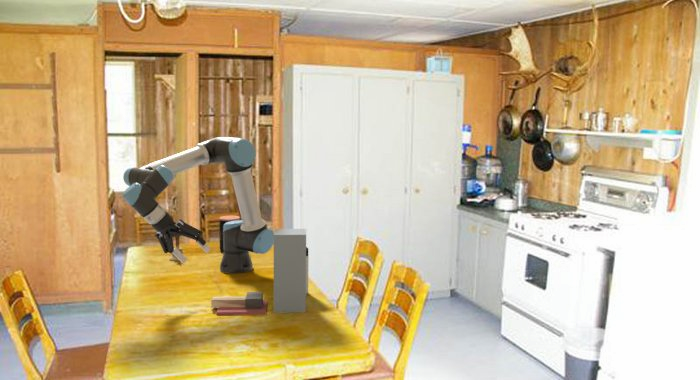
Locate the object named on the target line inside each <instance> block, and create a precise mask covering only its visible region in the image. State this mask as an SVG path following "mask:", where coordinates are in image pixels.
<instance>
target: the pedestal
mask: <svg viewBox="0 0 700 380" xmlns="http://www.w3.org/2000/svg"><path fill="white" fill-rule="evenodd" d="M273 233H274V244H273V313H279V314H280V313H306V311H307V306H306V305H307V304H306V300H307V298H306V297H307V295H306V247H307V229H306V228H274V231H273Z"/></svg>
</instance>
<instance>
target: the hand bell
mask: <svg viewBox="0 0 700 380" xmlns="http://www.w3.org/2000/svg"><path fill="white" fill-rule="evenodd" d="M179 231H180V230H179ZM180 237H181V236H178V235H177V236H175V237H174V238H175V246H174V249H175V248H177V249H178V250H179V251H180V252H181V253H182V254H183V255H184V256H185V257H186V255H185V254H184V253H183V252H184V251H183V247H181V246H180ZM186 258H187V257H186ZM168 259H169V261H174V262H176V261H177V262H179V261H180V260H178V259H177V258H176V257H174V256H173V255H172V254H171V255H170V257H169V258H168ZM180 262H181V261H180Z"/></svg>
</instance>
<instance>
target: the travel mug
mask: <svg viewBox="0 0 700 380" xmlns="http://www.w3.org/2000/svg"><path fill="white" fill-rule="evenodd" d="M308 295H309V247H308V246H306V296H308Z"/></svg>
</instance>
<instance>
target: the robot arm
mask: <svg viewBox="0 0 700 380" xmlns="http://www.w3.org/2000/svg"><path fill="white" fill-rule="evenodd" d="M256 155H257V153H256V148H255V146H254V144H253V142H251V141H250V140H248V139H246V138H242V137H233V136H231V137H230V136H218V137H214V138H210V139H208V140H205V141H202V142H200V143H197V144H195V145H194V147H193V148H190V149H187V150H184V151H182V152H179V153H176V154H173V155H171V156H167V157H166V158H163V159H159V160H156V161H154V162H151V163H149V164H146V165H141V166H139V167H129V168H127V169H126V170H125V171H124V173H123V181H124V183H125V185H127V186H128V187H127V188H126V189H125V190H124V191H123V193H122V198H123V199H124V201H125V202H126V203H127V204H128V205H129V206H130V207H131V208H133V210H135V212H137V213H138V215H140V216H141V217H142V218H143V219H144V220H145V221H146V222H147V223H148V224H149V225H151V227H152V228H153V229H154V230H155V231H156V233H155V234H154V236H155V237H156V239H158V242H159V244H160V247H161V249H162V251H163V252H164V254H167V253H169V254H171V255H173V256H174V257H176V258H177V259H178V260H180V263H182V264H183V265H184V264H186V261H187V260H188V257H185V256H186V255H185V254H184V253H183V254H184V255H183V254H182V253H181V252H180V251H179V250H178V249H177V248H175V246H174V239H173V238H175V236H177V235H178V236H180V237H181V236H182V237H184V238H185V237H186V238H188V239H191V240H194V241H195V243H196V244H197V246H199V247H200V248H201V250H203V251H204V252H205V254H209V253H210V250H211V246H210V245H208V244H207V241H206V240H205V239H204V238H203V237H202V235H203V234H204V233H203V231H202V230H200V229H198V228H197V227H194V226H193V225H190V224H188V223H186V222H185V221H184V220H182V219H178V221H177V222H176V221H174V217H173V216H171V215H170V213H168V212H167V211H166V209H165V208H164V207H163V206H161V204H159V202H158V201H157V200H156V199H157V198H158V197H159V195H161V194H162V193H163V191H165V190H166V188H167V187H169V186H170V184H171V183H172V182H173V181H174V179H175V175H176V174H177V175H178V174H179V173H182V172H184V171H187V170H190V169H192V168H195V167H198V166H200V165H201V166H207V165H210V164H222V165H224V168H225V171H226V173H228V174H229V175H230V177H231V181H232V185H233V189H234V193H235V196H236V197H235V198H236V200H237V201H236V202H237V205H238V208H239V212H240V219H241V220H240V219H239V220H237V221H230V222H226V223H225V224H224V226H223V247H224V253H223V255H222V257H221V262H220V264H219V270H220V272H221V273H226V274H235V275H236V274H244V273H248V272H250V271H252V270H253V269H254V267H253V265H254V263H253V261H252V257H251V255H250V253H255V254H256V255H257V254H259V255H263V254H266V253H268V252H269V251H270V250H271V249H272V248H273V247H274V231H273V230H272V229H271V228H268V225H267V221H266V220H265V219H263V218H262V214H261V209H260V206H259V202H258V197H257V192H256V188H255V184H254V180H253V174H252V171H251V170H252V168H253V166H254V165H253V163H254V162H255V160H256V159H255V158H256ZM179 230H180V231H179ZM174 248H175V249H174Z"/></svg>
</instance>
